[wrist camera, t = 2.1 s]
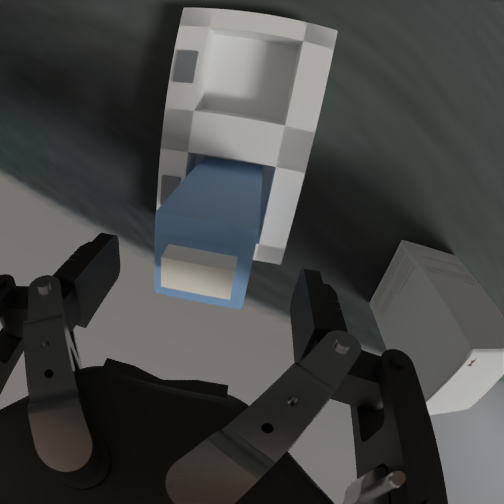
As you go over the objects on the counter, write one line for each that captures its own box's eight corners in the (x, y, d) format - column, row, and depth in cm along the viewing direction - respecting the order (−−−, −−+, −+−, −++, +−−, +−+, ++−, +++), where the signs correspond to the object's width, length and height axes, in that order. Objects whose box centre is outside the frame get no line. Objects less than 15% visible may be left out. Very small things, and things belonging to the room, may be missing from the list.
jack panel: (195, 18, 14) (182, 6, 12) (327, 39, 15) (338, 30, 12) (167, 223, 23) (154, 243, 20) (279, 243, 23) (280, 266, 20)
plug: (205, 156, 19) (146, 223, 10) (262, 165, 19) (258, 243, 10) (199, 208, 21) (148, 307, 12) (252, 217, 22) (240, 325, 12)
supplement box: (366, 303, 26) (404, 420, 15) (401, 236, 22) (475, 348, 11) (422, 313, 26) (467, 411, 16) (457, 255, 23) (528, 349, 12)
